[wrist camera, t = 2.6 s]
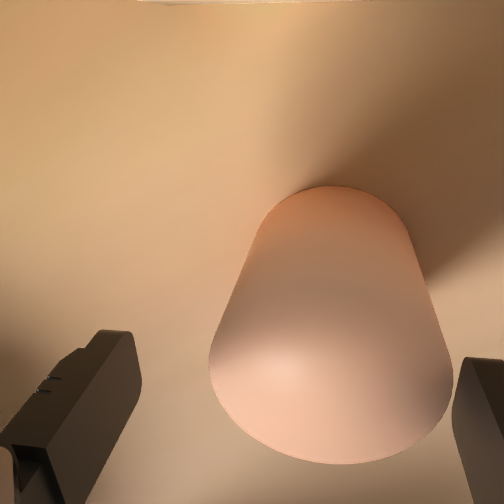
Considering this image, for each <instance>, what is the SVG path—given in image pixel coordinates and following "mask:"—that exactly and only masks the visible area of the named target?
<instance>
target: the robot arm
mask: <svg viewBox="0 0 504 504" xmlns="http://www.w3.org/2000/svg"><path fill="white" fill-rule="evenodd" d="M141 386H142V378H141V372H140V367H139V362H138V357H137V352H136V347H135V342H134V337H133V335H132V333H131V332H129V331H115V330H100V331H98V332H97V333H96V334H95V336H94V337H93V338H92V340H91V341H90V342H89V344H88V345H87V346H86V347H85V348H78V349H76V350H75V351H73V352H72V353H71V354H69V355H68V356H66V357H65V358H63V359H62V360H61V361H59V363H58V364H57V365H56V366H55V368H54V369H53V370H52V371H51V372H50V374H49V375H48V376H47V380H44V381H43V382H42V383H41V385H40V386H39V387H38V388H37V391H36V393H33V394H32V396H31V397H30V398H29V399H28V401H27V402H26V403H25V404H24V405H23V407H22V408H21V409H20V410H19V412H18V413H17V414H16V415H15V416H14V418H13V419H12V420H11V421H10V423H9V424H8V425H7V426H6V427H5V429H4V430H3V431H2V432H1V434H0V504H84V503H85V502H86V500H87V498H88V496H89V494H90V492H91V490H92V488H93V486H94V484H95V482H96V480H97V479H98V477H99V475H100V473H101V471H102V469H103V467H104V465H105V463H106V461H107V459H108V457H109V456H110V454H111V452H112V450H113V448H114V446H115V444H116V442H117V440H118V438H119V436H120V434H121V433H122V431H123V429H124V427H125V425H126V423H127V421H128V419H129V417H130V415H131V413H132V411H133V410H134V408H135V406H136V404H137V402H138V399H139V396H140V392H141ZM452 428H453V433H454V437H455V440H456V444H457V447H458V450H459V454H460V457H461V461H462V464H463V467H464V471H465V474H466V477H467V481H468V484H469V487H470V491H471V494H472V498H473V501H474V504H504V361H503V360H501V359H487V358H473V357H465V358H464V360H463V362H462V366H461V370H460V375H459V379H458V383H457V388H456V392H455V397H454V401H453V406H452Z"/></svg>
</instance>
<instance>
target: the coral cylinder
mask: <svg viewBox="0 0 504 504" xmlns="http://www.w3.org/2000/svg"><path fill="white" fill-rule="evenodd" d="M209 371H210V377H211V382H212V385H213V388H214V391H215V393H216V395H217V397H218V400H219V402H220V403H221V405H222V406H223V408H224V409H225V411H226V412H227V413H228V415H229V416H230V417H231V418H232V419H233V421H234V422H235V423H236V424H238V425H239V426H240V427H241V428H242V429H243V430H244V431H245V432H247V433H248V434H249V435H251V436H252V437H253V438H255V439H256V440H258V441H259V442H261V443H263V444H264V445H266V446H268V447H270V448H272V449H274V450H276V451H279V452H281V453H284V454H286V455H289V456H292V457H295V458H299V459H303V460H307V461H312V462H317V463H327V464H356V463H365V462H370V461H375V460H379V459H383V458H386V457H389V456H392V455H394V454H397V453H399V452H402V451H403V450H405V449H407V448H409V447H411V446H413V445H414V444H416V443H417V442H418V441H420V440H421V439H423V438H424V437H425V436H426V435H427V434H428V433H429V432H430V431H431V430H432V429H433V428H434V427H435V426H436V425H437V423H438V422H439V421H440V420H441V418H442V416H443V414H444V413H445V411H446V409H447V407H448V404H449V401H450V398H451V394H452V388H453V369H452V364H451V359H450V355H449V352H448V349H447V346H446V343H445V341H444V338H443V335H442V332H441V329H440V326H439V323H438V320H437V317H436V314H435V311H434V308H433V305H432V302H431V299H430V296H429V293H428V290H427V287H426V284H425V281H424V278H423V275H422V272H421V269H420V266H419V263H418V260H417V257H416V254H415V251H414V248H413V245H412V242H411V239H410V237H409V234H408V231H407V229H406V227H405V226H404V224H403V222H402V220H401V219H400V218H399V217H398V215H397V214H396V213H395V212H394V211H393V210H392V209H391V208H390V207H389V206H388V205H387V204H385V203H384V202H382V201H381V200H380V199H378V198H376V197H374V196H372V195H371V194H369V193H366V192H363V191H361V190H358V189H353V188H349V187H342V186H322V187H315V188H311V189H307V190H303V191H301V192H298V193H296V194H294V195H292V196H290V197H288V198H286V199H285V200H283V201H282V202H281V203H279V204H278V205H277V206H275V207H274V208H273V210H272V211H271V212H270V213H269V214H268V215H267V216H266V218H265V219H264V220H263V222H262V224H261V226H260V227H259V229H258V232H257V234H256V236H255V239H254V241H253V244H252V246H251V249H250V251H249V253H248V256H247V258H246V261H245V263H244V266H243V268H242V270H241V273H240V275H239V278H238V280H237V282H236V285H235V287H234V290H233V292H232V295H231V297H230V299H229V302H228V304H227V307H226V309H225V311H224V314H223V316H222V319H221V321H220V324H219V326H218V328H217V331H216V333H215V336H214V339H213V342H212V344H211V349H210V355H209Z"/></svg>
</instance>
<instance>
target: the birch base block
mask: <svg viewBox="0 0 504 504" xmlns="http://www.w3.org/2000/svg"><path fill="white" fill-rule="evenodd" d="M139 1H145V2H151V3H158V4H164V5H204V4H245V3H286V2H327V1H368V0H139Z"/></svg>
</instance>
